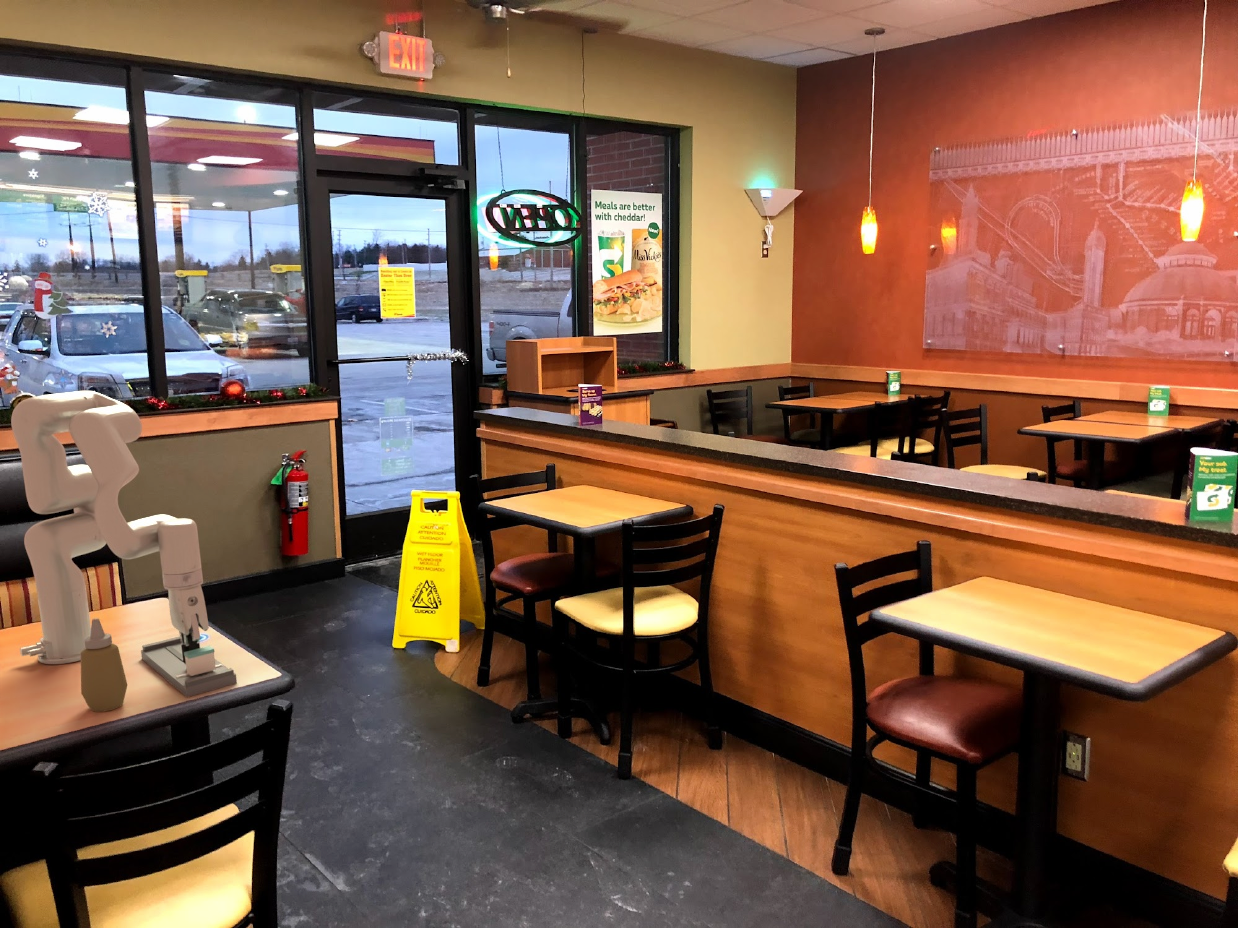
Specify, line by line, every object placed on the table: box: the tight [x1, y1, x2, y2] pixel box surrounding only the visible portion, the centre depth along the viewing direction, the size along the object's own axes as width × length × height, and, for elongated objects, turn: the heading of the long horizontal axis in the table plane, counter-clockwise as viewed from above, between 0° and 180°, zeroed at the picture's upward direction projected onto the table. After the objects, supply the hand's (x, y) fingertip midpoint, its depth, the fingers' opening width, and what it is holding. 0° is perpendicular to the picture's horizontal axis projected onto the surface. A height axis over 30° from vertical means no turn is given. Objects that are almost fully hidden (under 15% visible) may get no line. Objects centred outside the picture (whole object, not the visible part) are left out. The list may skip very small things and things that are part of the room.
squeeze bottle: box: [80, 618, 128, 713], centre depth 191 cm, size 8×8×18 cm
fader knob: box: [184, 645, 216, 676], centre depth 203 cm, size 5×3×4 cm, turn 131°
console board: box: [140, 636, 238, 698], centre depth 210 cm, size 10×30×3 cm, turn 42°
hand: (192, 661), depth 207 cm, fingers closed
